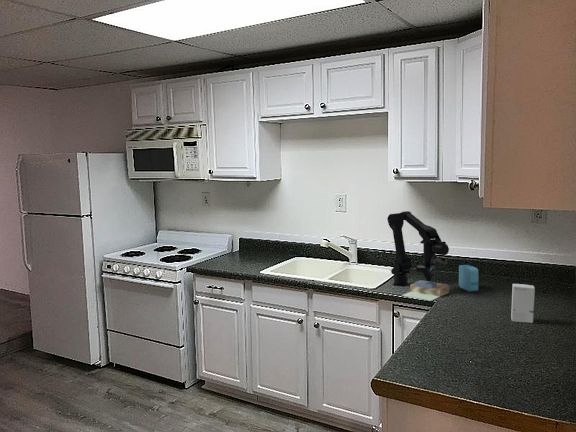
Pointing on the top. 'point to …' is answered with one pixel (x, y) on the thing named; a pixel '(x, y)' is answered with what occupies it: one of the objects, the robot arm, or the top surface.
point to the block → (426, 284)
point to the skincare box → (522, 303)
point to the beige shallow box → (435, 291)
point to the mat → (420, 296)
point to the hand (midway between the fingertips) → (429, 282)
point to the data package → (468, 278)
